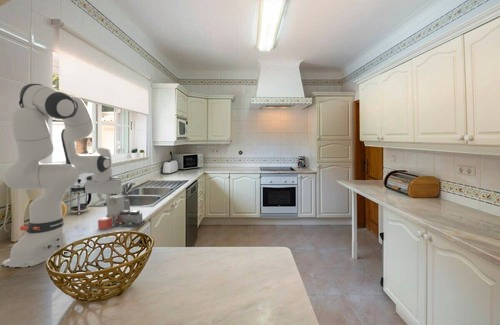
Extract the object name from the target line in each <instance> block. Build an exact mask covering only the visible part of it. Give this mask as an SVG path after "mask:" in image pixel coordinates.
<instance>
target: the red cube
mask: <svg viewBox="0 0 500 325" xmlns="http://www.w3.org/2000/svg"><path fill="white" fill-rule="evenodd" d="M97 224H98V225H97V228H98V230H108V229H110V228H111V227H113V222H112V218H107V217H102V218H100V219H98V220H97Z"/></svg>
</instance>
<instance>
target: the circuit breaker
mask: <svg viewBox="0 0 500 325" xmlns="http://www.w3.org/2000/svg"><path fill="white" fill-rule="evenodd" d="M126 198H127V197H126V195H125V194H112V195H111V196H110V198H109V201H108V202H105V205H106V209H107V210H106V212H107V214H106V217H105V218H112V223H115V224H117V223H118V221H117V215H118V214H120V212H121V211H123V210H130V211H131V202H130V199H126Z"/></svg>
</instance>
